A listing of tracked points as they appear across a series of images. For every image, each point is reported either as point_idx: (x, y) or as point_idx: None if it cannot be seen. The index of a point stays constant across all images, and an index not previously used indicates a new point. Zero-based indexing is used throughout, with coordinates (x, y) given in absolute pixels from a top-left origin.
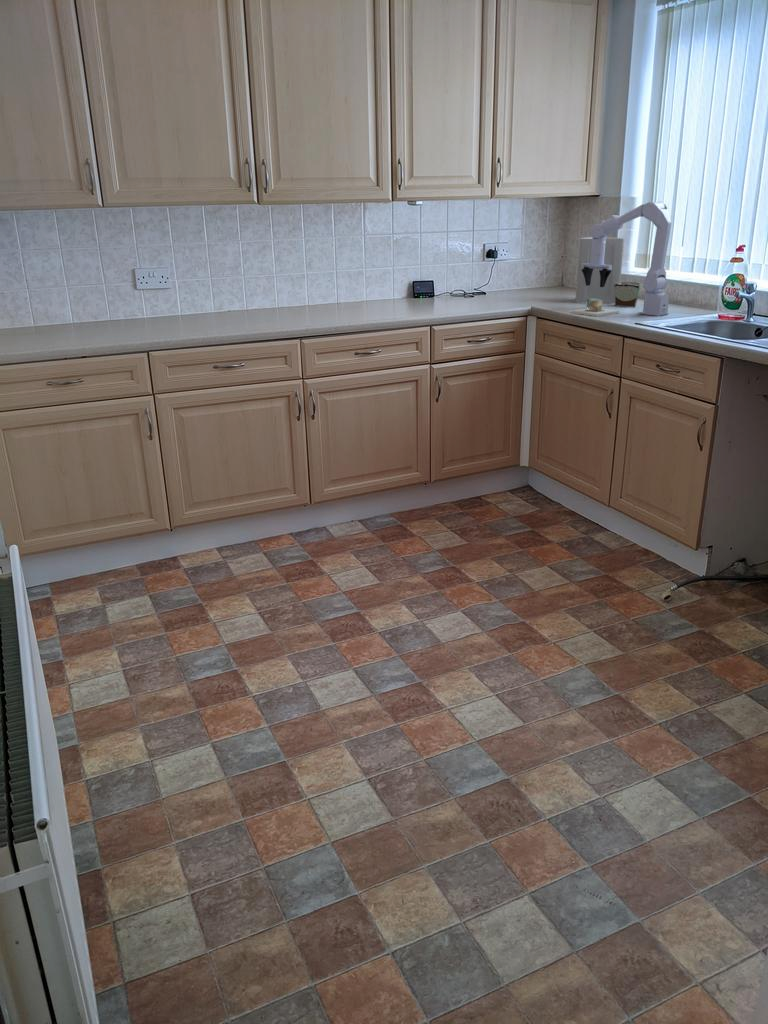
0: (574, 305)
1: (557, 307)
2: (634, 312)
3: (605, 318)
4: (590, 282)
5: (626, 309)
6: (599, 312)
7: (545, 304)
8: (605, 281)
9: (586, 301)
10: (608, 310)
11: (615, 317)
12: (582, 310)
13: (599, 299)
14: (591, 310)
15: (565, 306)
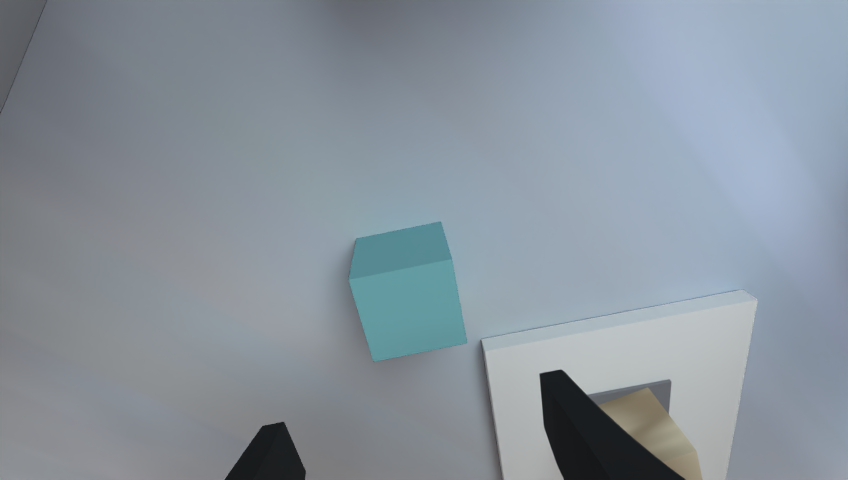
0: (177, 295)
1: (240, 452)
2: (820, 137)
3: (783, 467)
4: (270, 455)
5: (660, 51)
6: (690, 440)
7: (39, 441)
8: (615, 434)
9: (1, 69)
10: (681, 344)
11: (814, 407)
12: (553, 472)
13: (453, 274)
14: None
15: (210, 385)
